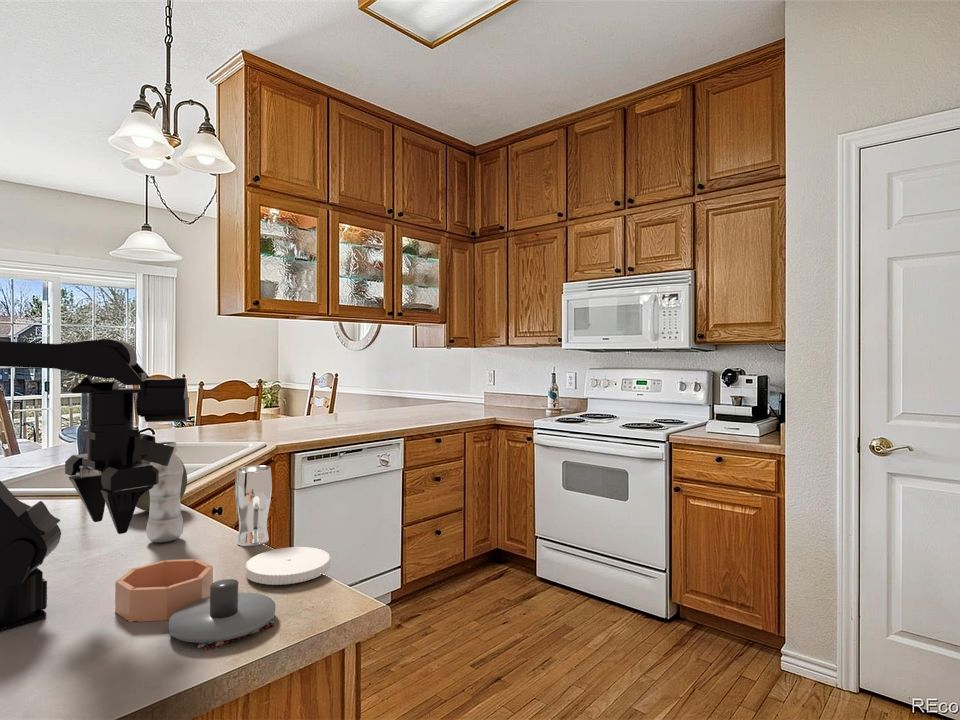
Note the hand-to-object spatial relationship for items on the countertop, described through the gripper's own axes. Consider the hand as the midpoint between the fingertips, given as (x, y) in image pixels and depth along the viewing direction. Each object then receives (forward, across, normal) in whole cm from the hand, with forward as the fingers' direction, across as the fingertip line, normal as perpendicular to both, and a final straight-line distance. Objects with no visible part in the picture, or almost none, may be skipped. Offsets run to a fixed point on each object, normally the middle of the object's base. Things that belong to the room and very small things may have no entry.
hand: (109, 527), depth 84 cm
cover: (+11, -19, -8) cm, 23 cm away
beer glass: (+12, +11, -30) cm, 34 cm away
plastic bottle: (+12, +25, -19) cm, 34 cm away
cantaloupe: (+12, +49, -27) cm, 57 cm away
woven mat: (+13, -19, -8) cm, 24 cm away
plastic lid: (+13, -9, -25) cm, 29 cm away
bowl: (+12, -5, -6) cm, 14 cm away
